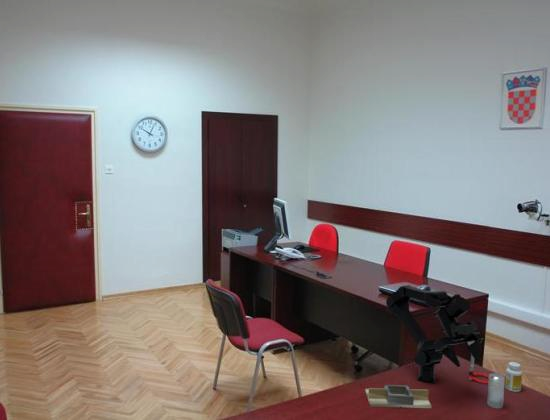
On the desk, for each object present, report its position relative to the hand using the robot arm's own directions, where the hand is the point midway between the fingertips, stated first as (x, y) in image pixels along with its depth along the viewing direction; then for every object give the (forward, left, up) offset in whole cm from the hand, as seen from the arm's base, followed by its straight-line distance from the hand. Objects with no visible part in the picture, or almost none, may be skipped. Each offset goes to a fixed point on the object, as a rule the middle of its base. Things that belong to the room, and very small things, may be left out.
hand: (469, 364), depth 170 cm
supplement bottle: (-19, +16, -15) cm, 29 cm away
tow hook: (-23, +5, -15) cm, 28 cm away
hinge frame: (+7, -23, -14) cm, 28 cm away
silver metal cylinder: (-3, +9, -14) cm, 17 cm away
